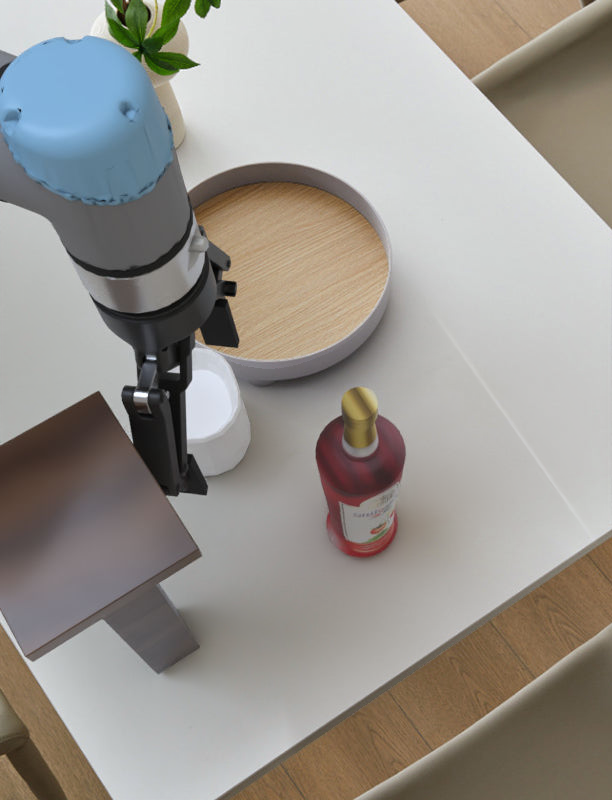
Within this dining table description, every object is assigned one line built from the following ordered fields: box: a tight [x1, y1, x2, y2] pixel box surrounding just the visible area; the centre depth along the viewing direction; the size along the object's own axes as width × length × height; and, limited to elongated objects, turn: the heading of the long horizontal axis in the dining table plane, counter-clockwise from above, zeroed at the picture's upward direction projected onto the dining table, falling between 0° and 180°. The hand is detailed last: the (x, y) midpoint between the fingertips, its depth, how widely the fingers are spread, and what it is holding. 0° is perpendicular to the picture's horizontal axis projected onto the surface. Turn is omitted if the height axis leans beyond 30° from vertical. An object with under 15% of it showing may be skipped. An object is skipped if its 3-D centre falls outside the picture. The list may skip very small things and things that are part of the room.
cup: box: [168, 346, 252, 477], centre depth 99 cm, size 10×10×10 cm
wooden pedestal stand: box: [0, 390, 203, 675], centre depth 78 cm, size 13×12×35 cm
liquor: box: [314, 386, 407, 558], centre depth 86 cm, size 7×7×28 cm
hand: (207, 413), depth 81 cm, fingers open, 12 cm apart
